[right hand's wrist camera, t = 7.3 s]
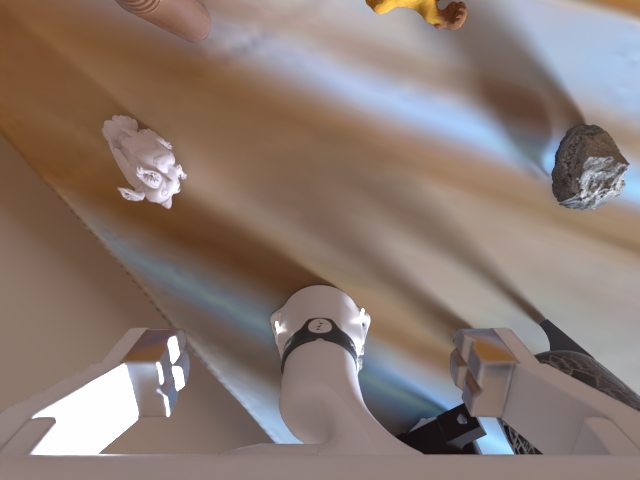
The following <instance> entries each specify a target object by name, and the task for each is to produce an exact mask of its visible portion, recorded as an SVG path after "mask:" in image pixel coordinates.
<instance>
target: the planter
mask: <svg viewBox="0 0 640 480" xmlns="http://www.w3.org/2000/svg"><path fill="white" fill-rule="evenodd" d="M540 326H541V327H542V329H543V330H544V331H545V333H546V335H547V337H548V339H549V342H550V351H547V352H542V353H539V354H535V355H534V357H535V358H536V359H537V360H538V361H539V362H540V363H541V364H548V365H550V366H552V367H553V368H555V369H557V370H559V371H561V372H563V373H565V374H567V375H569V376H571V377H573V378H575V379H577V380H579V381H581V382H583V383H585V384H587V385H588V386H590V387H592V388H594V389H596V390H598V391H600V392H602V393H604V394H606V395H608V396H610V397H612V398H614V399H616V400H618V401H620V402H622V403H623V404H625V405H627V406H629V407H631V408H633V409H635V410H637V411H639V412H640V396H639V395H638V394H637V393H635V392H634V391H633V390H632V389H631V388H629V387H628V386H627V385H626V384H625V383H623V382H622V381H621V380H620V379H619V378H617V377H616V376H615V375H614V374H613V373H611V372H610V371H609V370H608V369H607V368H605V367H604V366H603V365H602V364H600V363H599V362H598V361H596V360H595V359H594V358H593V357H592V356H591V355H590V354H589V353H587V352H586V351H585V350H584V349H583V348H581V347H580V346H579V345H578V344H577V343H575V342H574V341H573V340H572V339H571V338H569V337H568V336H567V335H566V334H565V333H563V332H562V331H561V330H560V329H559V328H557V327H556V326H555V325H554V324H553V323H551V322H550V321H549V320H548V319H547V320H545V321H544V322H542V323H541V324H540ZM496 419H497V421H498V423H499V425H500V427H501V429H502V431H503V433H504V435H505V437H506V439H507V441H508V443H509V445H510V447H511V449H512V451H513V453H514V455H544V454H543V453H541V452H540V451H539V450H538V449H537V448H535V447H534V446H533V445H532V444H531V443H530V442H528V441H527V440H526V439H525V438H524V437H523V436H521V435H520V434H519V433H518V432H517V431H516V430H514V429H513V428H512V427H511V426H510V425H509V424H507V423H506V422H505V421H504V420H503V419H502V418H500V417H496Z"/></svg>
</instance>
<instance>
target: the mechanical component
mask: <svg viewBox="0 0 640 480" xmlns="http://www.w3.org/2000/svg"><path fill="white" fill-rule="evenodd" d="M466 422H467V423H466ZM485 435H487V434H486V432H485V430H484V428H483V426H482V424H481V422H480V420H479V418H478V417H471V415H470V413H469V411H468V409H467V407H466V405H465V403H463V404H461V405H459V406H457V407H455V408H453V409H451V410H449V411H447V412H445V413H443V414H441V415H439V416H437V417H431V418H429V419H426V418H421V419H420V422H418V423H417V424H416V425H415V426H414V427H413V428H412V429H411V430H410V431H409V433H407V434H405V433H403V434H401V435H399V436H397V437H396V438H397V439H398V440H400V441H401V442H403V443H405V444H406V445H408V446H409V447H411V448H413V449H415V450H417V451H419V452H421V453H423V454H424V455H483V454H482V452H481V450H480V448H479V446H478V444H477V441H476V439H478V438H480V437H483V436H485Z"/></svg>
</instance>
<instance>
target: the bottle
mask: <svg viewBox="0 0 640 480" xmlns="http://www.w3.org/2000/svg"><path fill="white" fill-rule="evenodd" d="M115 1H116V2H117V3H118V4H119V5H120V6H121V7H122V8H123V9H125V10H126V11H128V12H130V13H132V14H134V15H136V16H138V17H140V18H142V19H144V20H146V21H148V22H150V23H152V24H154V25H156V26H158V27H160V28H162V29H164V30H166V31H168V32H170V33H172V34H174V35H176V36H178V37H180V38H182V39H184V40H186V41H189V42H199V41H201V40H203V39H204V38H205V37H206V36H207V35H208V33H209V31H210V27H211V19H210V14H209V12H208V10H207V8H206V7H205V6H204V5H203V4H202V3H201V2H200V1H199V0H115Z"/></svg>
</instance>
